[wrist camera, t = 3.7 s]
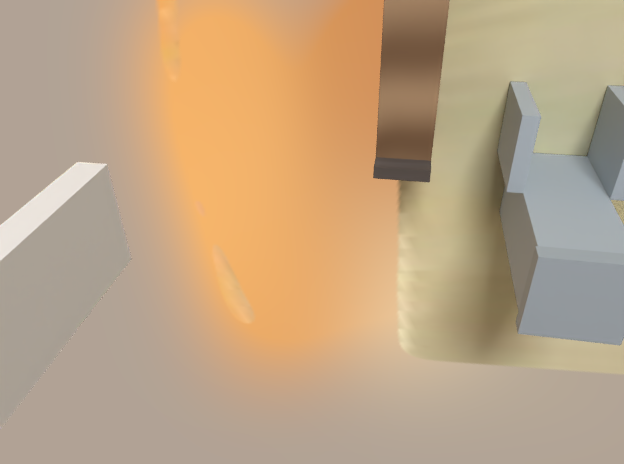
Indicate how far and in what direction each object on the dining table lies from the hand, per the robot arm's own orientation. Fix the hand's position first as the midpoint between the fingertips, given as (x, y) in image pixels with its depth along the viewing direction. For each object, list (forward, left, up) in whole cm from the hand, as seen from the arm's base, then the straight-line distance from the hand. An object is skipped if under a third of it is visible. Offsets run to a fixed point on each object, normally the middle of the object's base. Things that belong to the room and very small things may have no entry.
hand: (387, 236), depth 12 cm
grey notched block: (+10, +10, -27) cm, 30 cm away
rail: (+1, 0, -27) cm, 27 cm away
